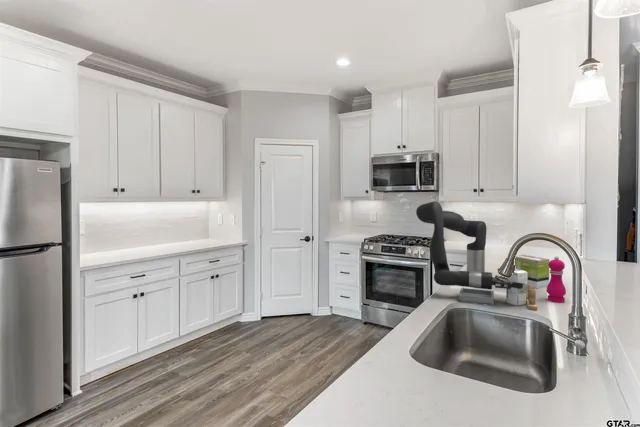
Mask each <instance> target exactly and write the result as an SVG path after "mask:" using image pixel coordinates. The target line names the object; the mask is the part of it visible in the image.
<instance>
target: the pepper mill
mask: <svg viewBox="0 0 640 427" xmlns="http://www.w3.org/2000/svg"><path fill="white" fill-rule="evenodd" d="M553 258H554V259H552V260H549V274H550V278H549V284H548V286H547V287H546V293H547V294H548V295H547V300H548V301H549V302H552V303H565V297H564V296H566V294H567V290H566V287H565V284H564V283H563V282H564V281H563V275H564V271H563V270H564V269H565V267H566V266H565V265H566V264H565V262H564V261H562V260H561V259H560V257H559V256H557V255H555V256H554V257H553Z"/></svg>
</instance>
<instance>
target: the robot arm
mask: <svg viewBox="0 0 640 427" xmlns="http://www.w3.org/2000/svg"><path fill="white" fill-rule="evenodd" d="M415 212H416V216H417V218H418V219H419V221H421V222H423V223H426V224H430V225H431V224H432V225H433V234H432V236H431V240H430V243H429V253H430V259H431V263H432V264H433V268H434V275H433V280H434V282H435V283H436V284H438V285H440V286H454V287H455V286H456V287H457V286H459V287H464V288H471V289H480V290H491V291H492V289H493V286H494V287H495V288H496V289H504V290H505V289H506V290H507V289H511V288H512V287H513V288H523V284H522V283H516V282H509V281H508V280H507V278H505V277H502V276H503V275H497V274H496V275H495V276H494V277H493V272H489V271H488V272H487V271H486V270H485V267H486V266H485V265H486V263H485V262H486V258H485V257H486V256H485V254H486V250H485V248H486V244H487V243H486V242H487V225H486V224H487V223H486V222H485V221H483V220H467V219H464V217H463V216H462V215H461V214H459V213H457V212H454V211H448V210H443V206H442V204H441V203H440V202H439V201H435V200H434V201H432V202H431V201H429V202H426V203H423V204H420V205H419V206H418V207H417V208H416V210H415ZM444 229H447V230H449V231H454V232H458V233H461V234H463V235H465V236H466V237H469V238H475V240H474V241H473V242H469V243H467V244H466V270H458V271H454V270H451V269H450V267H449V264H448V259H447V258H448V256H447V253H446V252H447V251H446V246H445V235H444Z"/></svg>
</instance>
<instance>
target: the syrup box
mask: <svg viewBox="0 0 640 427" xmlns="http://www.w3.org/2000/svg"><path fill="white" fill-rule="evenodd" d="M527 279H528V272H526V271H523V270H515V271H514V273H513V275H512V277H511V278H507V280H508V281H509V282H516V283H522V284H523V288H513V287H512V288H511V289H506V295H505V296H506V297H505V298H506V301H505V302H506V303H508V304H509V305H513V306H517V307H518V306H525V305H527V287H528V286H527Z"/></svg>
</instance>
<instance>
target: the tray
mask: <svg viewBox="0 0 640 427" xmlns="http://www.w3.org/2000/svg"><path fill="white" fill-rule="evenodd" d="M494 292H495V291H494V290H492V289H491V290H490V289H480V288H470V287H460V289H459V293H458V302H459V303H465V302H466V303H467V304H474V303H476V304H477V305H483V304H487V306H492V305H494V302H495V301H494V299H495V298H494V295H495V294H494ZM476 304H475V305H476ZM494 306H495V305H494Z"/></svg>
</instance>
